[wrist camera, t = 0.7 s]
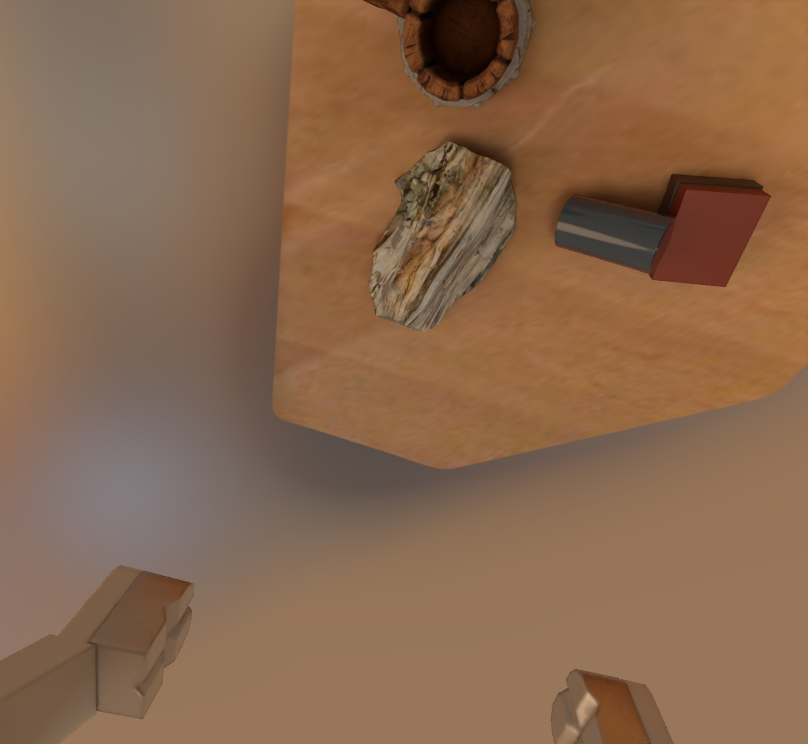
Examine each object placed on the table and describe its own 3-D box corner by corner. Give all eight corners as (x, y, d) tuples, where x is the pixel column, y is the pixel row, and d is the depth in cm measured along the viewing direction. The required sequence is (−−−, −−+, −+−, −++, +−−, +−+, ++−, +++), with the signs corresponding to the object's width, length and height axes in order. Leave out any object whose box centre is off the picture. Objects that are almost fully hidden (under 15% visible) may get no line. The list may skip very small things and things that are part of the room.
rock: (538, 183, 54) (425, 114, 50) (554, 196, 48) (429, 120, 44) (437, 339, 65) (339, 292, 61) (441, 365, 59) (333, 315, 55)
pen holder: (584, 189, 51) (682, 211, 46) (571, 238, 54) (661, 264, 49) (562, 200, 47) (665, 226, 42) (549, 253, 51) (644, 282, 46)
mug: (500, 129, 49) (469, 149, 37) (382, 63, 49) (313, 63, 37) (567, -4, 41) (554, -32, 30) (427, -80, 42) (360, -137, 30)
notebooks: (754, 180, 48) (775, 193, 44) (712, 270, 54) (727, 289, 50) (671, 174, 49) (685, 187, 45) (639, 263, 55) (649, 281, 51)
